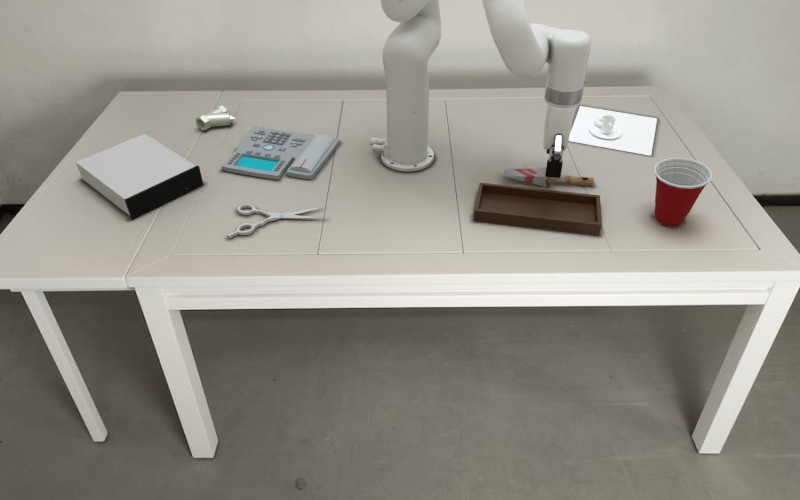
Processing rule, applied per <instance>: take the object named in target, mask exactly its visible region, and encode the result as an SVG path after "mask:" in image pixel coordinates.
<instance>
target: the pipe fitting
mask: <svg viewBox="0 0 800 500" xmlns="http://www.w3.org/2000/svg"><path fill="white" fill-rule="evenodd" d="M235 118H236V117H235V116H233V115H230V112H228V110H227V108H226V107H225V106H224V105H218V106H216V107H214V108H213V109H212V110H210V111H208V112H206V113H205V114H203V115H200V116H197V117H196V118H195V124H196V126H197V128H198V129H199V130H200V131H202V132H203V131H206V130H208V129H210V128H214V127H228V126H231V123H234V121H236V119H235Z"/></svg>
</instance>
